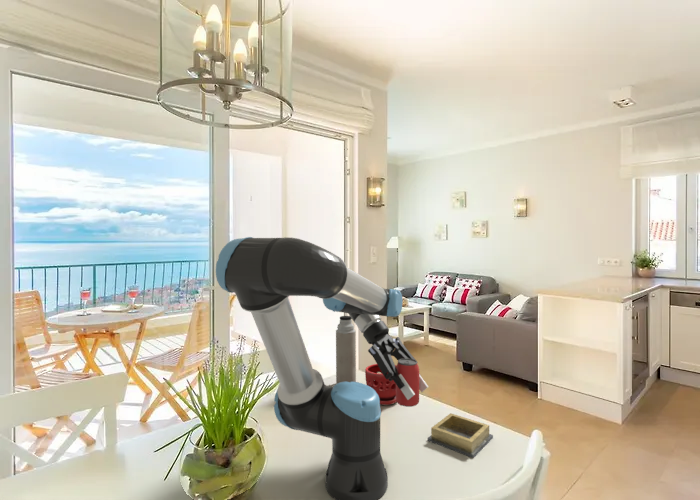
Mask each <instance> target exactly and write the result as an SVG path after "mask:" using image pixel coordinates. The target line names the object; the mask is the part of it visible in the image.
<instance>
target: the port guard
mask: <svg viewBox="0 0 700 500" xmlns="http://www.w3.org/2000/svg"><path fill="white" fill-rule="evenodd" d="M430 430H431V435H429V436H428V437H427V441H428V442H430V443H433V444H435V445H439V446H441V447H444V448H446V449H448V450H452V451H453V452H456V453H459V454H462V455H464V456H468V457H469V458H472V459H474V458H475V457H476V456H477V455H478V454H479V453H480V452H481V451H482V450H483V448H485V446H486V445H488V443H489V442H491V441H492V439H494V435H493V434H490V425H489V424H486V423H484V422H480V421H476V420H474V419H471V418H467V417H464V416H461V415H458V414H455V413H449V414H447V415H446V416H445V417H444V418H442V419H441V420H440V421H439V422H437V423H436V424H434V425H433V426H432V427H431V428H430Z"/></svg>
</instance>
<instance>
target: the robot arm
mask: <svg viewBox="0 0 700 500" xmlns="http://www.w3.org/2000/svg"><path fill="white" fill-rule="evenodd" d="M215 277H216V281H217V283H218V285H219V287H220V288H221V289H222V290H224V291H226V292H227V293H234V294H235V296H236V298H237V300H238V303H239V305H240V308H241V309H242V310H244V311H246V312H249V313H251V315H252V318H253V321H254V323H255V325H256V328H257V329H258V333H259V335H260V337H261V340H262V343H263V345H264V347H265V348H264V349H265V350H266V353H267V355H268V357H269V360H270V362H271V365H272V367H273V370H274V372H275V375H276V377H277V379H278V382H279V384H278V386H277V390H276V393H274V400H273V401H274V402H275V403H274V404H273V411H274V414H275V416H276V419H277V421H278V422H279V423H280V424H281V425H282V426H285V427H287V428H288V429H291V430H295V431H301V432H305V433H309V434H313V435H317V436H319V437H320V436H321V437H323V438H328V439H331V443H332V444H331V445H332V446H331V447H332V448H331V449H332V450H331V451H332V452H331V456H330V458H329V462H328V465H327V469H326V472H325V477H324V478H325V481H324V484H325V490H326V491H327V493H328V495H330V496H331V498H333V499H335V500H379V499H380V498H382V497H383V496H384V494H385V493H386V492H387V490H388V488H389V487H388V486H389V485H388V484H389V483H388V480H389V479H388V478H389V476H388V472H387V469H386V467H385V464H384V461H383V457H382V454H381V415H382V410H381V405H380V400H379V396H378V394H377V393H376V391H375V390H374V389H373V388H371V387H370V386H368V385H367V384H365V383H363V382H358V381H356V382H340V383H337V384H334V386H330V385H326V384H325V382H324V378H323V375H322V374H321V373H320V371H318V370H317V369H315V368H313V366H312V363H311V360H310V356H309V354H308V351H307V349H306V346H305V342H304V339H303V336H302V334H301V330H300V328H299V325H298V321H297V318H296V317H295V314H294V311H293V307H292V304H291V302H290V299H289V297H290V296H291V297H295V296H296V297H299V296H300V297H301V296H303V297H316V298H318V299H322V302H323V305H324V307H325V308H326V309H327V310H329V311H332V312H334V313H335V312H337V313H344V314H348V316H350V317H351V318H352V319H351V320H352V321H353V322H354V324H355V325H356V327H357V328H358V329H359V331H360V333H361V334H362V336H363V338H364V339H365V340H366V342H367V343H368V344H369V345H371V347H369V349H368V350H367V352H368V353H369V354H370V355H371V356H372V358H373V360H374V361H375V364H377V365H378V366H379V368H380V370H381V371H382V373H383V375H384V377H385V378H386V379H389V381H392V380H394V382H395V383H396V385H397V386H398V388H399V389H401V391H402V392H403V394H404V395H405V397H406V398H407V400H409V399H410V398H411V397H413V396H414V395H415V393H414V392H413V390H412V389H411V387H410V386H409V384H408V383H407V382H406V380H405V379H404V377H403V376H402V374H400V375H398V371H397V369H396V367H395V365H396V364H395V362H394V360H393V357H394V358H395V359H396V360H397V361H398V360H400V359H404V358H409V359H414V360H416V358H415V357H414V356H413V354H411V352H410V351H409V350H408V349H407V347H406V345H404V343H403V342H402V340H401V338H400V337H399V336H396V338H393V336H391V335H390V333H389V331H390V329H389V328H388V326H387V324H386V323H385V321H383V320H382V317H398V316H399V315H400V314H401V312H402V310H403V294H402V293H401V291H400V290H399V289H392V288H384V287H381V286H380V285H378V284H376V283H375V282H373V281H372V280H371V279H368V278H366V277H365V276H362V275H361V274H360V273H358V272H356V271H354V270H353V269H351V268H349V267H347V264H346V262H345V261H344V260H343V259H342V258H341V257H339V256H338V255H336V254H335V253H333V252H331V251H329V250H327V249H325V248H324V247H321V246H319V245H317V244H314V243H312V242H310V241H307V240H303V239H301V238H296V237H286V236H285V237H251V236H247V237H244V238H242V237H241V238H235V239H232V240H230V241H228V242H227V243H226V244H225V245H224V246H223V248H222V249H221V250H220V252H219V254H218V258H217V261H216V264H215ZM387 372H388V374H387ZM382 373H381V374H382ZM428 388H429V385H428V384H427V382H426V381H425V380H424V378H423V376H422V374H421V373H420V372H419V392H420V393H423V392H424V391H425V390H427V389H428Z"/></svg>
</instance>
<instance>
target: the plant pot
mask: <svg viewBox="0 0 700 500" xmlns="http://www.w3.org/2000/svg"><path fill="white" fill-rule="evenodd" d="M396 366H397V364H395V367H396ZM364 372H365V382H366V384H365V385H368V386H370V387H371V388H373V389H374V390H375V391H376V393H377V394H378V396H379V400H380V406H386V405H387V406H388V405H392V404H395V403H397V402H396V383H395V382H394V380H392V381H389V379H386V378H385V377H384V375H383V373H382V371H381V370H380V368H379V366H378V365H377V363H374V364H373V363H372V364H371V365H368V366H367V367H365V369H364ZM387 374H388V372H387Z"/></svg>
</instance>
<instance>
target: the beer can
mask: <svg viewBox="0 0 700 500" xmlns="http://www.w3.org/2000/svg"><path fill="white" fill-rule="evenodd" d="M396 365H397V366H396V369H397V371H398V375H400V374H402V376H403V377H404V379H405V380H406V382H407V383H408V384H409V386H410V387H411V389H412V390H413V392H414V393H415V395H414V396H413V397H411V398H410V399H409V400H407V398H406V397H405V395H404V394H403V392H402V391H401V389H399V388H398V386H397V385H396V402H395V403H397V404H398V405H399V406H401V407H402V406H403V407H408V408H410V407H415V406H417V405H418V404H419V403H420V390H419V373H420V366H419V363H418V361H417V360H416V359H415V360H414V359H409V358H404V359H400V360H397V364H396Z"/></svg>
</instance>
